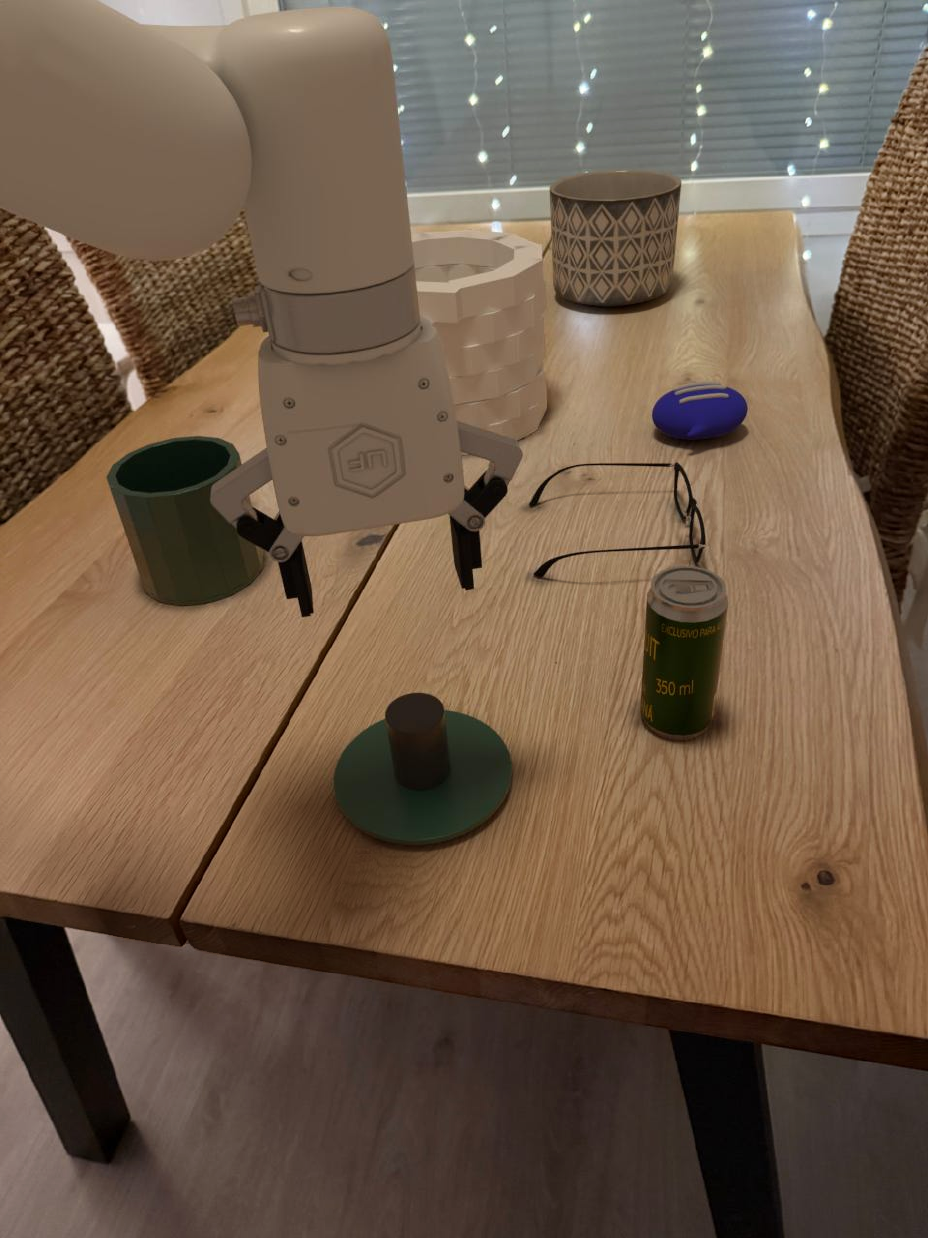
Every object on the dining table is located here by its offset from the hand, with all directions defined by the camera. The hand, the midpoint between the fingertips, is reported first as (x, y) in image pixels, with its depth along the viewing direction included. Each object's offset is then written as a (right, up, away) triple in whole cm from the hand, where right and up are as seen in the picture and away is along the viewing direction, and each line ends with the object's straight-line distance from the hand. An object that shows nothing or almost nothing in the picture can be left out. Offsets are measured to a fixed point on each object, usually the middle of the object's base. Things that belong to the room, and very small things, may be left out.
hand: (386, 590), depth 56 cm
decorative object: (+31, +19, +49) cm, 62 cm away
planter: (+28, +49, +90) cm, 107 cm away
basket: (+3, +23, +59) cm, 63 cm away
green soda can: (+21, -9, +13) cm, 26 cm away
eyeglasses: (+19, +6, +34) cm, 39 cm away
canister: (-21, +3, +34) cm, 40 cm away
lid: (+2, -13, +9) cm, 16 cm away
